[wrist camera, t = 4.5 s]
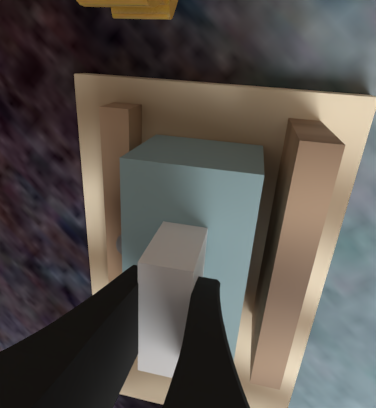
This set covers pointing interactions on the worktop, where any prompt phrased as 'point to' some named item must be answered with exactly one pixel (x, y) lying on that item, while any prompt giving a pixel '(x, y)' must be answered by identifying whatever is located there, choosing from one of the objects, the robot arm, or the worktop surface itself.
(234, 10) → the worktop surface
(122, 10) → the decorative fish
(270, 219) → the cleat board
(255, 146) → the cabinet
